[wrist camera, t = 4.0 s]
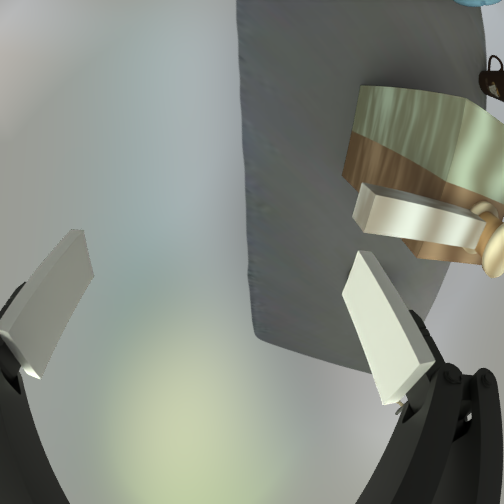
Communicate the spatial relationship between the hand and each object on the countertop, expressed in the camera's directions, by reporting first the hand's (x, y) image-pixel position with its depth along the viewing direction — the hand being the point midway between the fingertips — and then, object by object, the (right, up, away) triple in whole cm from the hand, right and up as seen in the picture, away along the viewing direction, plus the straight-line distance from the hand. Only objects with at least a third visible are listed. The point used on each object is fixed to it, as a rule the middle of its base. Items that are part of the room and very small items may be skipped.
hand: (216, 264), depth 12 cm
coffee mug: (+58, +43, +24) cm, 75 cm away
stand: (+28, +23, +35) cm, 50 cm away
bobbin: (+22, +4, +12) cm, 26 cm away
